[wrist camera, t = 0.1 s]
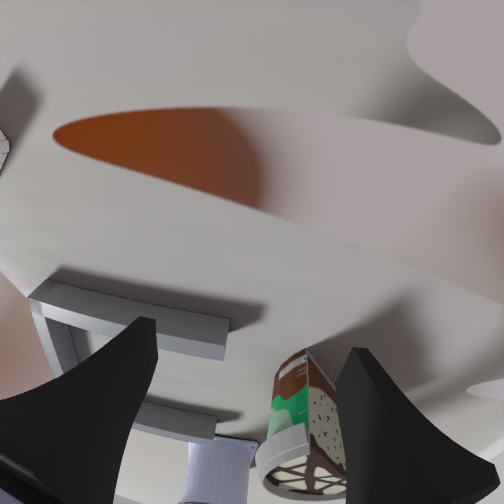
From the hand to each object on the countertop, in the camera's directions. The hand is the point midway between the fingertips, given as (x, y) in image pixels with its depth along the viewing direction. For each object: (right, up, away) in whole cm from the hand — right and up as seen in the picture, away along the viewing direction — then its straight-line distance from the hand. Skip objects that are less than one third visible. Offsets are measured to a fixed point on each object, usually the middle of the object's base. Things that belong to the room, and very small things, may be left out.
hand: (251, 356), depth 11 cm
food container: (+4, -9, +15) cm, 18 cm away
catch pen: (-11, -7, +15) cm, 20 cm away
